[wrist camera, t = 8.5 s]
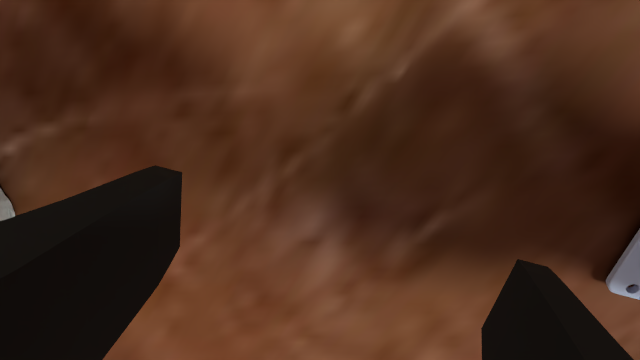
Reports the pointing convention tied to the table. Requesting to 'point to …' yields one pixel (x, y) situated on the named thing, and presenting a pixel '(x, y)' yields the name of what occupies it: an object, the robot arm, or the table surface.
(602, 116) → the table surface
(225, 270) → the table surface
